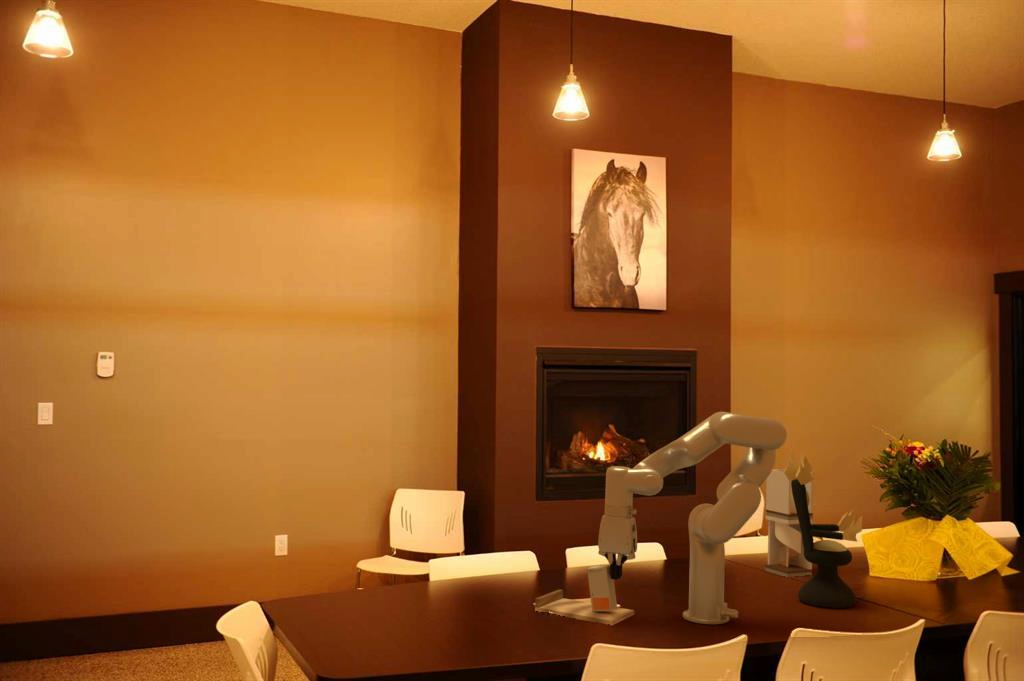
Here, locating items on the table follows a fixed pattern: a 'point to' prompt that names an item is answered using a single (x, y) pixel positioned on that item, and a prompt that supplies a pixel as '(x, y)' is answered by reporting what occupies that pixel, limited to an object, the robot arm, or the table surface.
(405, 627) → the table surface
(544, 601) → the board
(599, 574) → the skincare box
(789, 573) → the white pedestal stand
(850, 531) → the black chair
